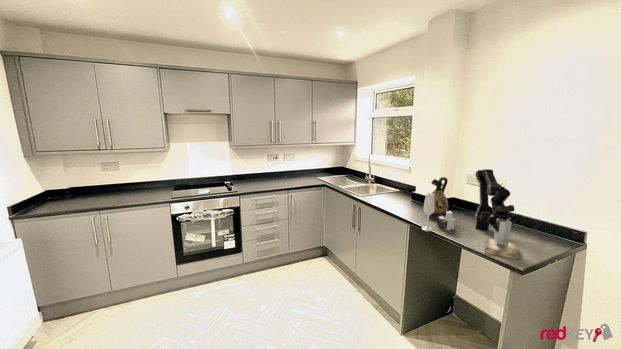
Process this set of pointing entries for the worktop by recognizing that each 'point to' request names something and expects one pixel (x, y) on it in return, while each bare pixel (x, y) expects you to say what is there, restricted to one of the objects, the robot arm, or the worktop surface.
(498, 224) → the block
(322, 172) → the worktop surface
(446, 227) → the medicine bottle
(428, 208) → the champagne flute
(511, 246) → the shallow cream tray
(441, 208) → the ceramic jug
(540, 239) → the worktop surface
